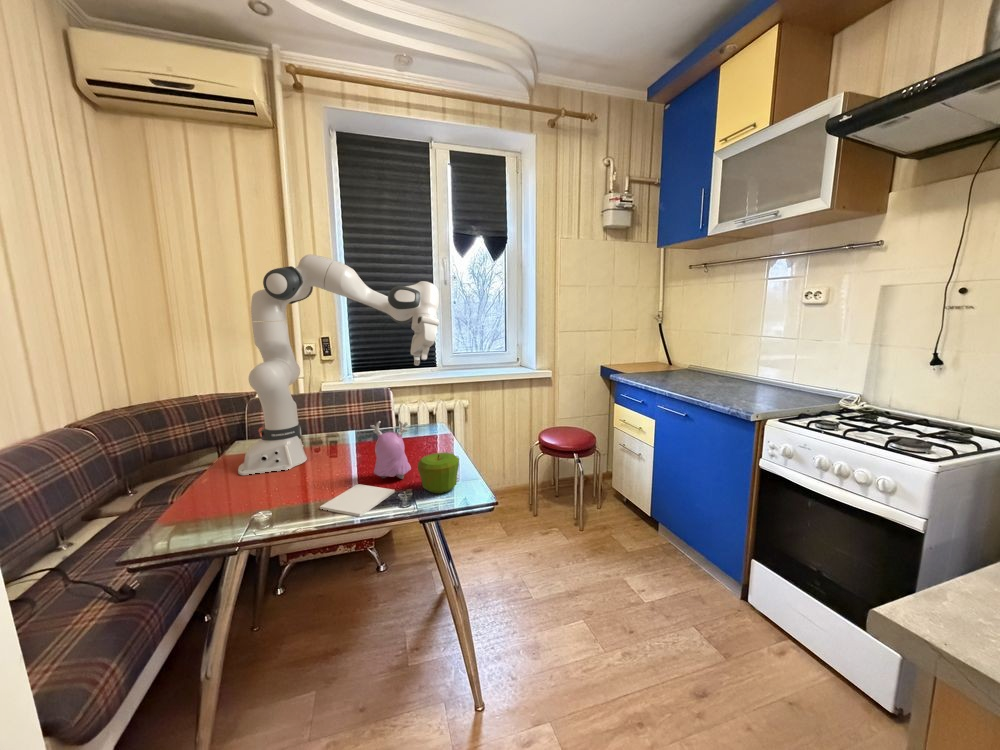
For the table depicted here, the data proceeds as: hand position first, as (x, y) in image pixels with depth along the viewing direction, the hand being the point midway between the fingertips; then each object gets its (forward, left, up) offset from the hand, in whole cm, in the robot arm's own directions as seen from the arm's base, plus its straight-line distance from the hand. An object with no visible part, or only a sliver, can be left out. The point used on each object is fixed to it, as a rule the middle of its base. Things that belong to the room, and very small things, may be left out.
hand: (420, 362), depth 147 cm
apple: (-3, -25, -37) cm, 45 cm away
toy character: (-14, -9, -37) cm, 41 cm away
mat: (-27, -20, -37) cm, 50 cm away
